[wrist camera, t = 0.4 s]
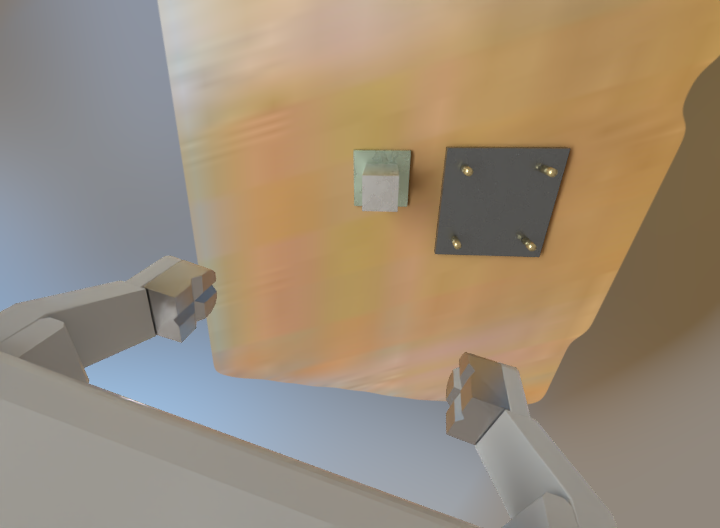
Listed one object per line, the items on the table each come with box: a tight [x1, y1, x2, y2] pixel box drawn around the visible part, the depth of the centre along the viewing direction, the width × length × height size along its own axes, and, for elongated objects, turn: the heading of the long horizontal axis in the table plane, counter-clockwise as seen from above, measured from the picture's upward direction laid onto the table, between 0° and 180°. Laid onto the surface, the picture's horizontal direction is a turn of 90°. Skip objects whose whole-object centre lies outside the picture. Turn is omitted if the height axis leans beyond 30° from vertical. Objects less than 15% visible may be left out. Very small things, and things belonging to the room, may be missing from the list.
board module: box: [354, 150, 411, 212], centre depth 48 cm, size 9×9×10 cm
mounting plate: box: [434, 147, 570, 257], centre depth 51 cm, size 18×18×4 cm
